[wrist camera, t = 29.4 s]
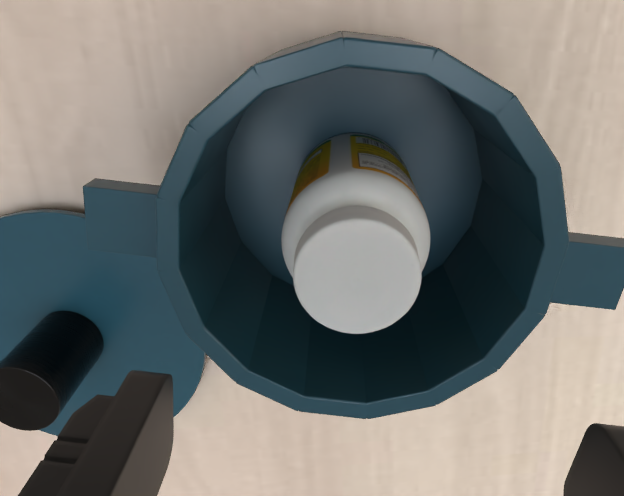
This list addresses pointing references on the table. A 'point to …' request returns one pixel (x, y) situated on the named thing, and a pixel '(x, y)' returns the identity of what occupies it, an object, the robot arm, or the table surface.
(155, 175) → the table surface
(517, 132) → the pot
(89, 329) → the lid
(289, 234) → the supplement bottle
